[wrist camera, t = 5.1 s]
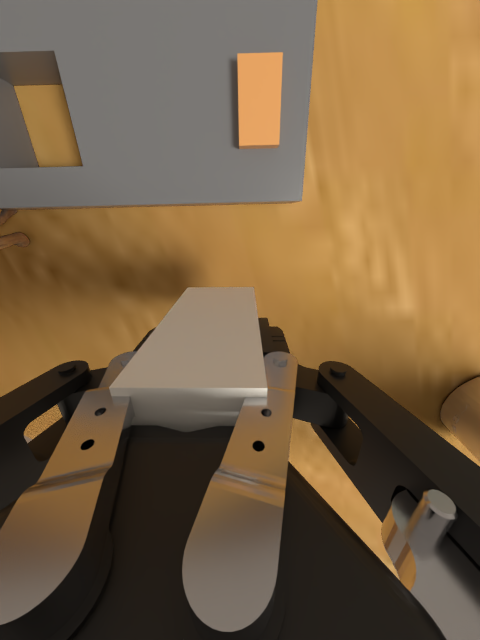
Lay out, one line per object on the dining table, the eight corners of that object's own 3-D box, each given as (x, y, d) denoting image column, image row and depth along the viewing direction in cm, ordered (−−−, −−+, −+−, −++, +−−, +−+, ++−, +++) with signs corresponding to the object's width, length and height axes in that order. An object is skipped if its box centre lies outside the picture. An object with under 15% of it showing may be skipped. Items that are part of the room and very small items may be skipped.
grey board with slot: (302, 29, 15) (324, -37, 11) (291, 203, 19) (304, 200, 15) (-37, 39, 15) (-134, -22, 11) (24, 209, 19) (-31, 208, 15)
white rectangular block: (253, 287, 14) (267, 388, 6) (252, 344, 16) (262, 487, 7) (187, 287, 14) (109, 387, 6) (193, 344, 16) (138, 486, 8)
